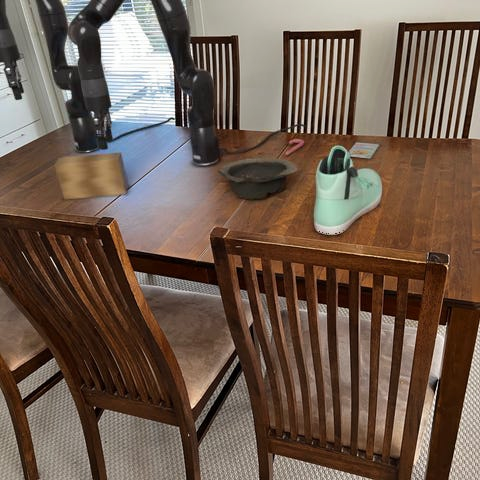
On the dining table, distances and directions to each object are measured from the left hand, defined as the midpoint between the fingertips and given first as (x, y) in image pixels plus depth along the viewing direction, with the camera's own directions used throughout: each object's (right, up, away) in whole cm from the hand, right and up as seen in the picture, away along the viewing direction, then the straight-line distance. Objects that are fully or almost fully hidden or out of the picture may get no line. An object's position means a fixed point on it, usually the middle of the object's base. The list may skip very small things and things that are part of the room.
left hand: (20, 96), depth 158 cm
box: (+25, -32, +2) cm, 40 cm away
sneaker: (+104, -38, -20) cm, 113 cm away
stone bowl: (+79, -31, -4) cm, 85 cm away
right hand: (+31, -17, -7) cm, 36 cm away
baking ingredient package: (+118, -15, +17) cm, 120 cm away
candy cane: (+93, -13, +24) cm, 97 cm away
